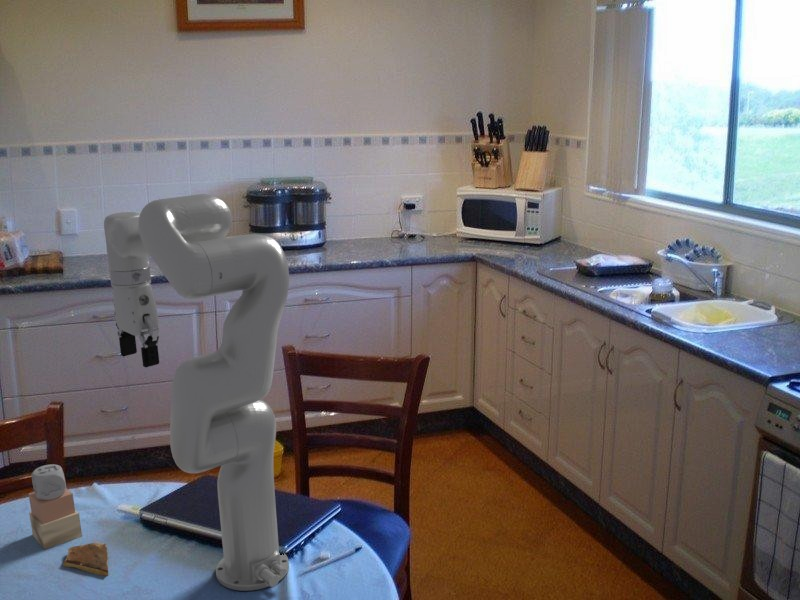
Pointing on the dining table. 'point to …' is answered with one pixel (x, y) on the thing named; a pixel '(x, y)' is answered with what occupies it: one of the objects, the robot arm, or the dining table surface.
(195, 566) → the dining table surface
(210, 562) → the dining table surface
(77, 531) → the tower base
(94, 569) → the shard
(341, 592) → the dining table surface
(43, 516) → the tower top
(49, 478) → the die
